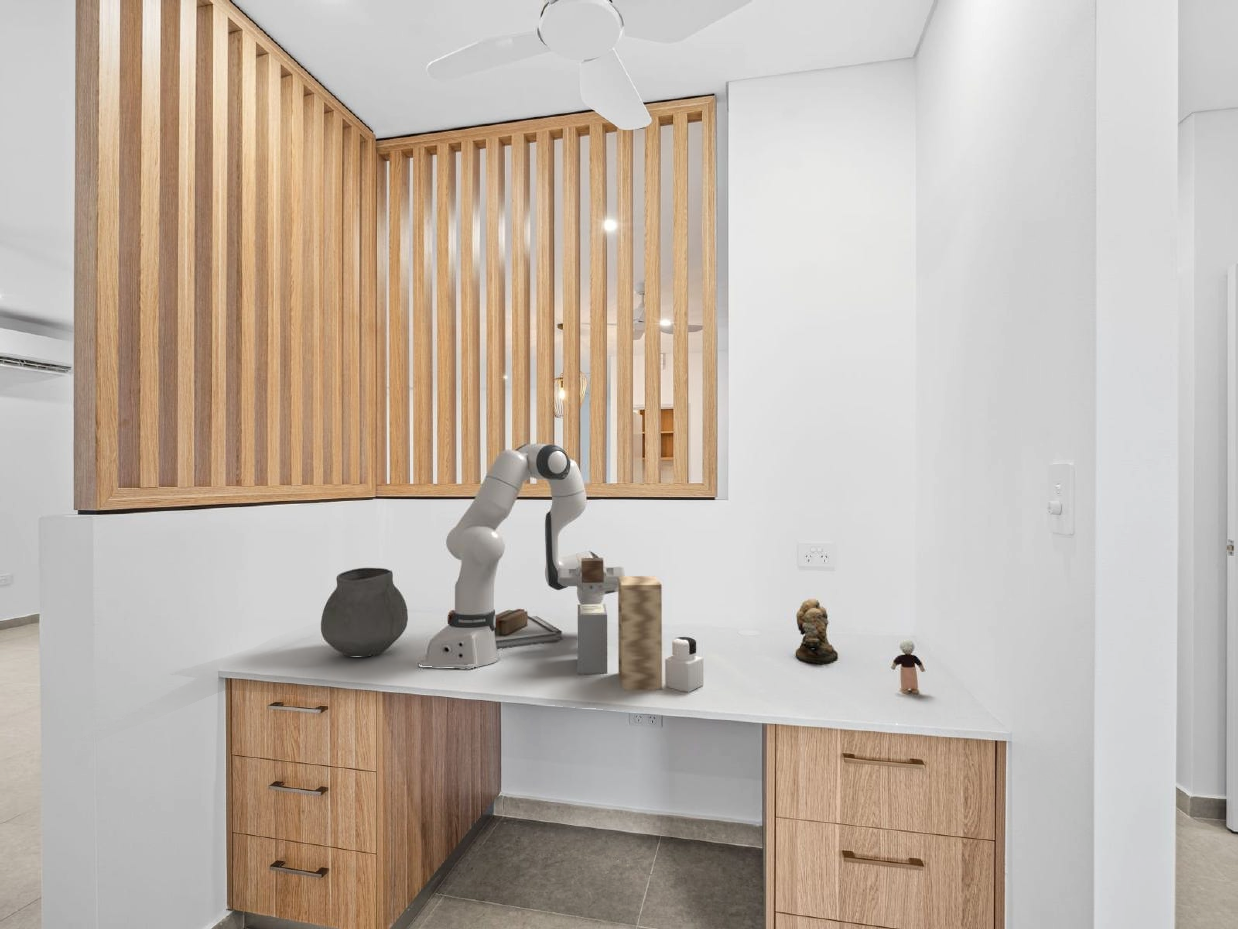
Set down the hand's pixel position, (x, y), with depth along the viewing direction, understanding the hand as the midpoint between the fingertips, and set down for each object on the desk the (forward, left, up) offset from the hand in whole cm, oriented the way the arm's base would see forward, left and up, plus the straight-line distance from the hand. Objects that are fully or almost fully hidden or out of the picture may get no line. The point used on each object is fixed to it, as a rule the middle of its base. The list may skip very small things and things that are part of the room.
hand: (591, 566), depth 186 cm
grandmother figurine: (+77, -36, -27) cm, 89 cm away
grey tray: (-28, +28, -27) cm, 48 cm away
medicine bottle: (+23, -28, -27) cm, 45 cm away
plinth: (0, -9, -27) cm, 28 cm away
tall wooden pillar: (+12, -23, -27) cm, 37 cm away
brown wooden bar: (0, -5, -2) cm, 6 cm away
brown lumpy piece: (+66, -5, -27) cm, 71 cm away
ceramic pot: (-68, +8, -27) cm, 74 cm away
